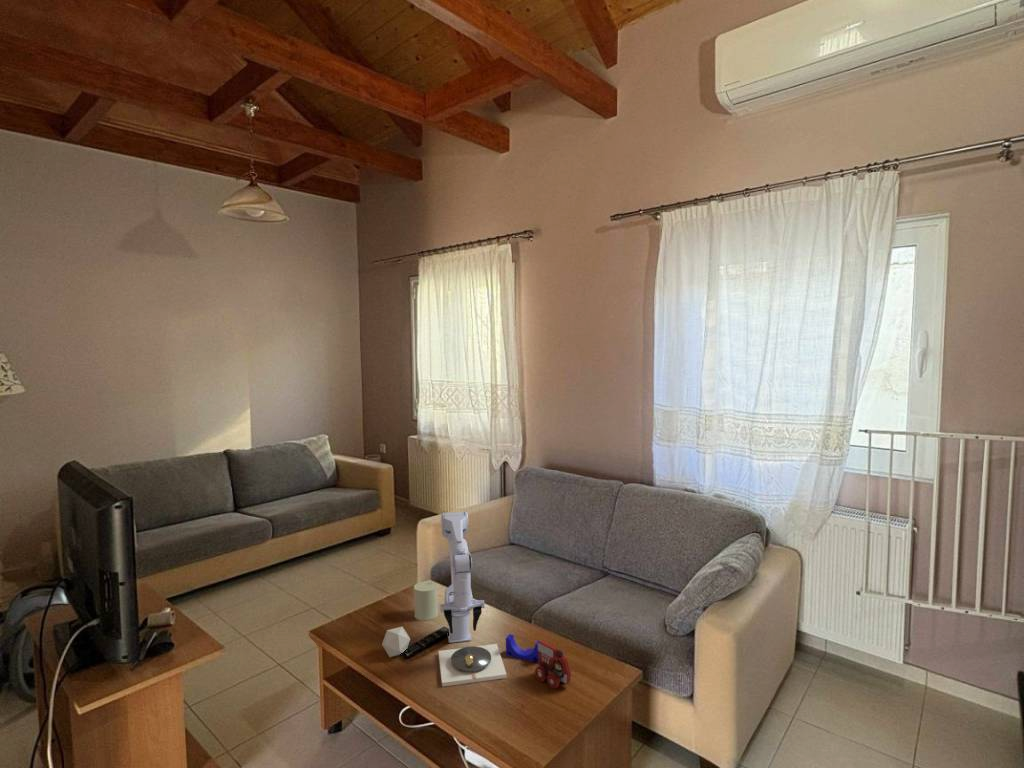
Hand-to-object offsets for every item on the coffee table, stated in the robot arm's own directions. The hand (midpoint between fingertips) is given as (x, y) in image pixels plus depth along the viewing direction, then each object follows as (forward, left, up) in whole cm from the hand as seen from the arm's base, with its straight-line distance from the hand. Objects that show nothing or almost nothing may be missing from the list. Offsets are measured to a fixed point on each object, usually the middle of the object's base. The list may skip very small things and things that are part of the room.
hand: (462, 630), depth 176 cm
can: (-33, -11, -10) cm, 36 cm away
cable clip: (+3, +20, -10) cm, 23 cm away
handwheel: (+5, +2, -7) cm, 9 cm away
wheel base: (+5, +2, -9) cm, 11 cm away
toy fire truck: (+18, +26, -10) cm, 33 cm away
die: (-8, -22, -10) cm, 25 cm away
